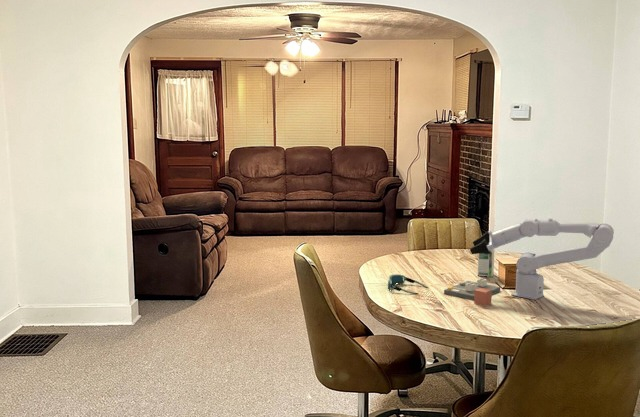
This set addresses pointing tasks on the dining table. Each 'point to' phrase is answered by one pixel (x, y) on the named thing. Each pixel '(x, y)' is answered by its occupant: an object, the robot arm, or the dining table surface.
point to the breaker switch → (482, 282)
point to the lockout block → (482, 296)
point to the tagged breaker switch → (470, 287)
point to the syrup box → (486, 264)
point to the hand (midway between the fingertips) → (472, 247)
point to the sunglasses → (399, 279)
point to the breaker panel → (461, 292)
